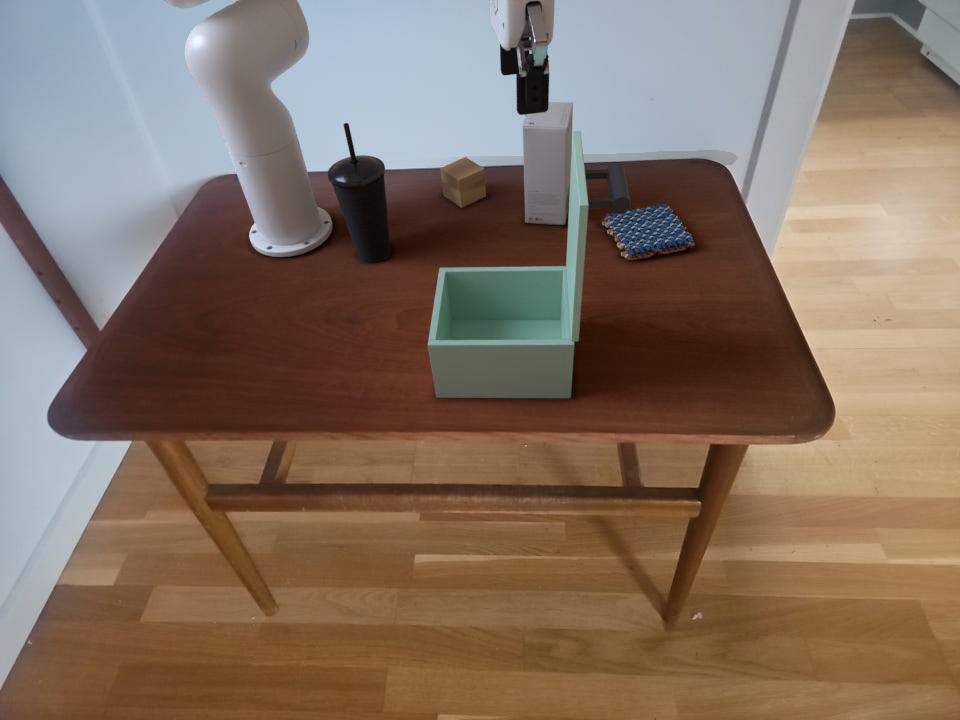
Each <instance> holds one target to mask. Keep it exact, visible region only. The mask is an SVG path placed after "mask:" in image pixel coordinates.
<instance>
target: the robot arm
mask: <svg viewBox="0 0 960 720" xmlns="http://www.w3.org/2000/svg"><path fill="white" fill-rule="evenodd" d="M164 2H166V3H167V4H169V5H170V6H172V7H174V8H178V9H190V8H194V7H197V6H200V5H203V4H205V3H207V2H210V0H164ZM231 2H232V3H231V4H228V5H226V6H224V7H222V8H221V9H219V10H217V11H215V12H214V13H212V14H210V15H209V16H207V17H205V18H204V19H203V20H200V22H199V23H198V24H197V25H196V26H194V27H193V29H192V30H191V31H190V33H189V34H188V37H187V38H186V42H185V44H184V59H185V63H186V66H187V69H188V71H189V74H190V75H191V77H192V79H193V81H194V83H195V84H196V86H197V88H198V89H199V91H200V92H201V95H203V98H204V99H205V102H207V105H208V107H209V108H210V110H211V112H212V114H213V117H214V119H215V121H216V123H217V126H218V128H219V131H220V133H221V137H222V139H223V143H224V144H225V147H226V149H227V152H228V155H229V157H230V160H231V163H232V165H233V168H234V170H235V174H236V176H237V179H238V181H239V184H240V187H241V189H242V192H243V195H244V197H245V200H246V202H247V205H248V208H249V211H250V214H251V217H252V220H253V222H254V223H253V224H252V226H251V227H250V230H249V232H248V233H249V234H248V239H249V241H250V244H251V246H252V248H253V249H255V251H257V252H258V253H259V254H262V255H264V256H269V257H273V258H288V257H290V258H291V257H295V256H299V255H303V254H307V253H309V252H310V251H312V250H315V249H316V248H318V247H319V246H321V245H322V244H323V243H325V241H327V239H328V238H329V237H330V235H331V234H332V231H333V221H332V217H331V215H330V214H329V212H328V211H326V210H325V209H324V208H321V207H320V206H317V201H316V197H315V195H314V191H313V188H312V183H311V180H310V176H309V173H308V169H307V165H306V161H305V157H304V155H303V152H302V151H303V150H302V148H301V144H300V140H299V137H298V133H297V131H296V127H295V123H294V121H293V117H292V115H291V113H290V112H289V109H288V108H287V106H286V105H285V104H284V103H283V102H282V101H281V99H279V97H277V95H276V94H275V93H274V91H273V89H272V83H273V82H274V81H275V80H276V79H278V78H279V77H280V76H281V75H282V74H284V73H285V72H287V71H288V70H289V69H290V68H292V67H294V66H295V65H296V64H298V62H299V61H300V60H302V58H303V57H304V56H305V55H306V53H307V51H308V48H309V44H310V32H309V31H310V30H309V26H308V22H307V19H306V16H305V14H304V11H303V10H302V6H301V5H300V3H299V1H298V0H231ZM489 20H490V23H491V26H492V28H493V31H494V34H495V36H496V38H497V40H498V43H499V54H500V55H499V60H500V61H499V62H500V63H499V64H500V65H499V66H500V73H501V75H502V76H512V75H515V81H516V82H515V84H516V86H515V87H516V88H515V89H516V90H515V91H516V94H515V95H516V113H517V114H518V115H519V116H525V114H534V113H542V112H546V111H547V110H548V104H549V101H550V100H549V98H550V60H549V58H550V57H549V55H548V54H549V53H548V48H549V45H550V44H551V43H552V42H553V38H554V28H555V27H554V26H555V25H554V24H555V0H489ZM530 52H531V53H530Z"/></svg>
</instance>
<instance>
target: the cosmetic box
mask: <svg viewBox="0 0 960 720" xmlns="http://www.w3.org/2000/svg"><path fill="white" fill-rule="evenodd" d="M573 115H574V102H568V101H566V102H565V101H557V102H556V101H555V102H554V101H553V102H552V101H551V102H549V104H548V110H547V111H546V112H542V113H534V114H525V115H524V116H525V117H524V120H523V124H522V154H523V155H522V156H523V157H522V158H523V187H524V188H523V190H524V191H523V192H524V223H526V224H532V225H533V224H535V225H553V226H565V225H566V222H567V218H568V213H569V196H570V175H571V154H572V133H573V118H574V117H573Z"/></svg>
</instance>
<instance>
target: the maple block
mask: <svg viewBox="0 0 960 720" xmlns="http://www.w3.org/2000/svg"><path fill="white" fill-rule="evenodd" d="M439 169H440V177H441V186H442V187H441V188H442V195H443V196H444V197H445V198H446V199H448V200H449V201H450V202H452V203H454V204H455V205H456V206H458V207H460V208H461V209H463V208H465V207H467V206H469V205H471V204H473V203H475V202H477V201H480V200H481V199H483V198H484V199H485V198H486V197H487V187H486V170H485V167H483V166H481V165H479V164H478V163H477V162H475V161H473V160H471V159H470V158H468V157H467V156H464V157H461V158H459V159H457V160H455V161H452V162H450V163H448V164H446V165H444V166H441V167H440V168H439Z"/></svg>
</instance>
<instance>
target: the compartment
mask: <svg viewBox="0 0 960 720" xmlns="http://www.w3.org/2000/svg"><path fill="white" fill-rule="evenodd" d="M438 268H439V269H438V275H437V282H436V289H435V295H434V301H433V307H432V314H431V321H430V327H429V334H428V341H427V350H428V354H429V355H428V356H429V362H430V368H431V373H432V379H433V386H434V392H435V397H436V399H572V391H573V389H572V387H573V373H574V361H575V360H574V357H575V341H571V333H570V316H569V300H568V283H567V267H566V265H558V266H557V265H551V266H549V265H547V266H546V265H542V266H541V265H540V266H539V265H538V266H466V267H465V266H464V267H463V266H461V267H438Z"/></svg>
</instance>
